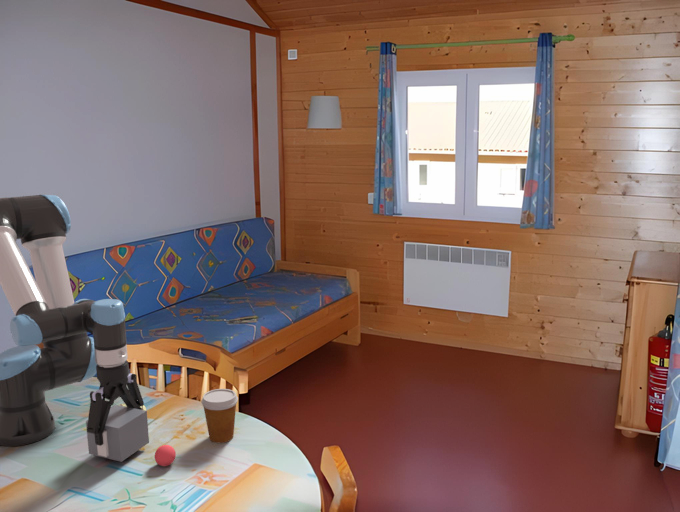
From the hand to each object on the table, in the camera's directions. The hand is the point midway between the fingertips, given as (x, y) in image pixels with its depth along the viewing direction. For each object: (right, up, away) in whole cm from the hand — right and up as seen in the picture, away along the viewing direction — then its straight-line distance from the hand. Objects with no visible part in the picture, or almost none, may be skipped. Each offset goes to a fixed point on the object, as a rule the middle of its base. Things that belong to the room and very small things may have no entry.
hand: (119, 445), depth 158 cm
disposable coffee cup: (+24, -1, +9) cm, 26 cm away
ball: (+13, -1, -5) cm, 14 cm away
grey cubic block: (0, -1, 0) cm, 1 cm away
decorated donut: (-5, +1, +19) cm, 20 cm away
